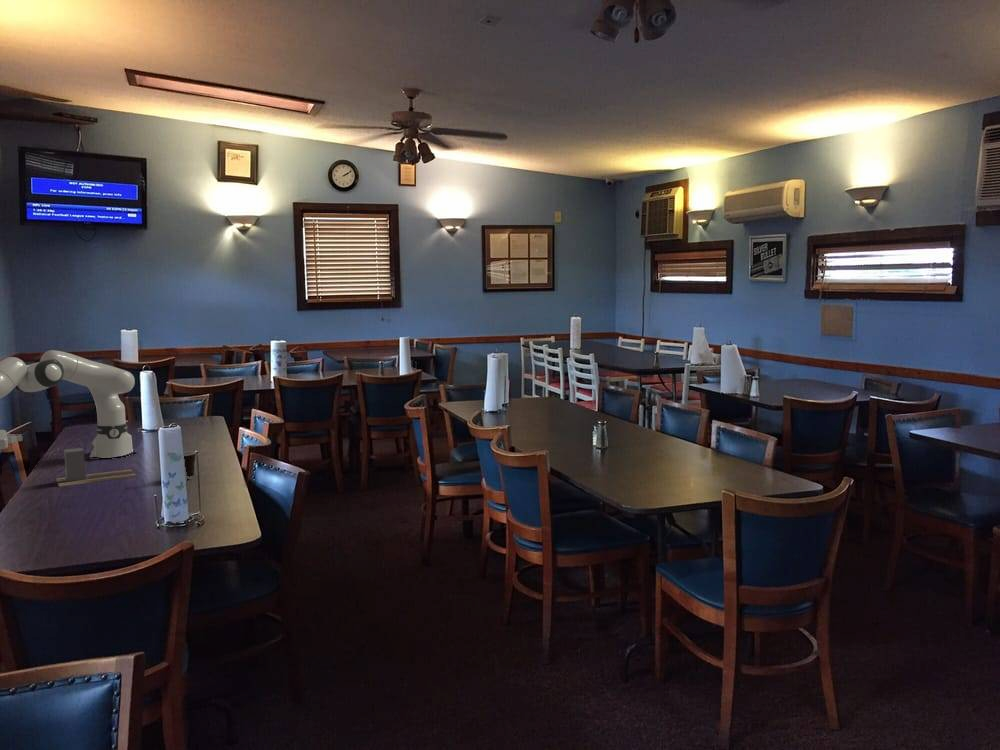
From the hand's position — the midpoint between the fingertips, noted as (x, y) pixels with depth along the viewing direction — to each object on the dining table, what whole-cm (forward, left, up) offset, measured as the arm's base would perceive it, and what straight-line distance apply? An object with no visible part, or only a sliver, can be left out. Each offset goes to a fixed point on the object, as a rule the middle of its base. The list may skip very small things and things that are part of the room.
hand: (22, 437), depth 277 cm
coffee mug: (+12, +53, -20) cm, 58 cm away
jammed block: (0, +16, -19) cm, 25 cm away
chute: (0, +23, -20) cm, 30 cm away
